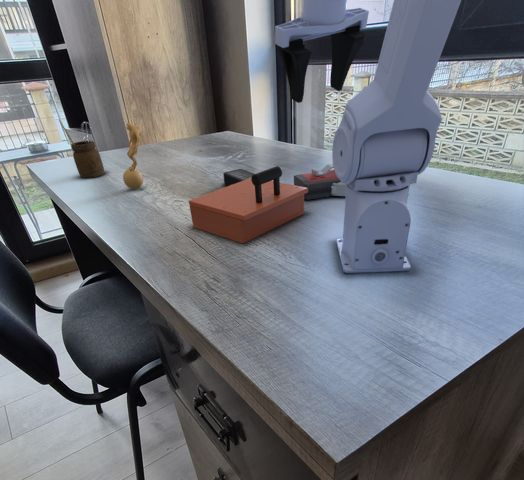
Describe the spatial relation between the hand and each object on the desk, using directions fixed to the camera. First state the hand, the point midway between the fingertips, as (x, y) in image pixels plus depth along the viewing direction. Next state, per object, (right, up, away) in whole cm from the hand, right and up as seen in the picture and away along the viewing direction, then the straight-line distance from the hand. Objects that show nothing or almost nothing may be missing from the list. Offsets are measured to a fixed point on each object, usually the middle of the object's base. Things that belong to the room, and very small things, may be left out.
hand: (316, 94), depth 60 cm
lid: (-11, -16, +1) cm, 19 cm away
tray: (-11, -19, +3) cm, 22 cm away
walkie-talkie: (+7, -10, +12) cm, 17 cm away
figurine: (-34, -5, +22) cm, 41 cm away
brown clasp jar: (-50, +3, +34) cm, 60 cm away
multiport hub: (-12, -7, +17) cm, 22 cm away
